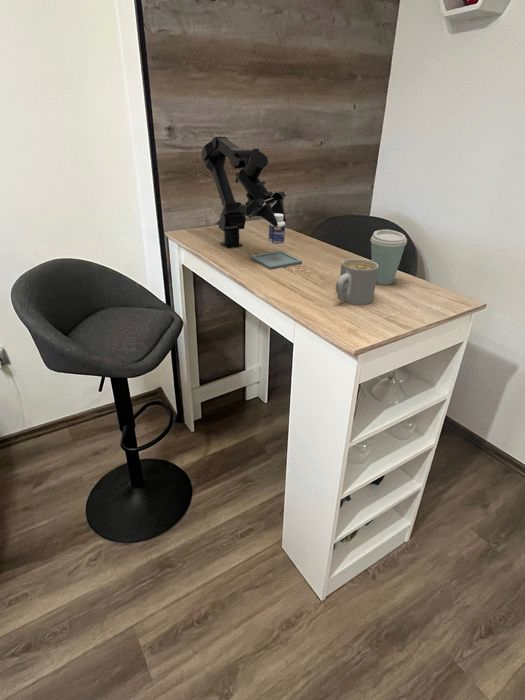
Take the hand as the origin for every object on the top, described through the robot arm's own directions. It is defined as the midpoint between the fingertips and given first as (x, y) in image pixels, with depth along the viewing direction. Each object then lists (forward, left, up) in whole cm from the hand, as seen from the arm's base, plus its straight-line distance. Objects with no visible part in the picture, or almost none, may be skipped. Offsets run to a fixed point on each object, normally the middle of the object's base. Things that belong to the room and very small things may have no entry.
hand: (280, 224), depth 140 cm
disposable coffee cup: (+31, +18, -13) cm, 38 cm away
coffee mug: (+37, 0, -13) cm, 39 cm away
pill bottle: (-1, -1, -7) cm, 7 cm away
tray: (-1, -1, -13) cm, 13 cm away
